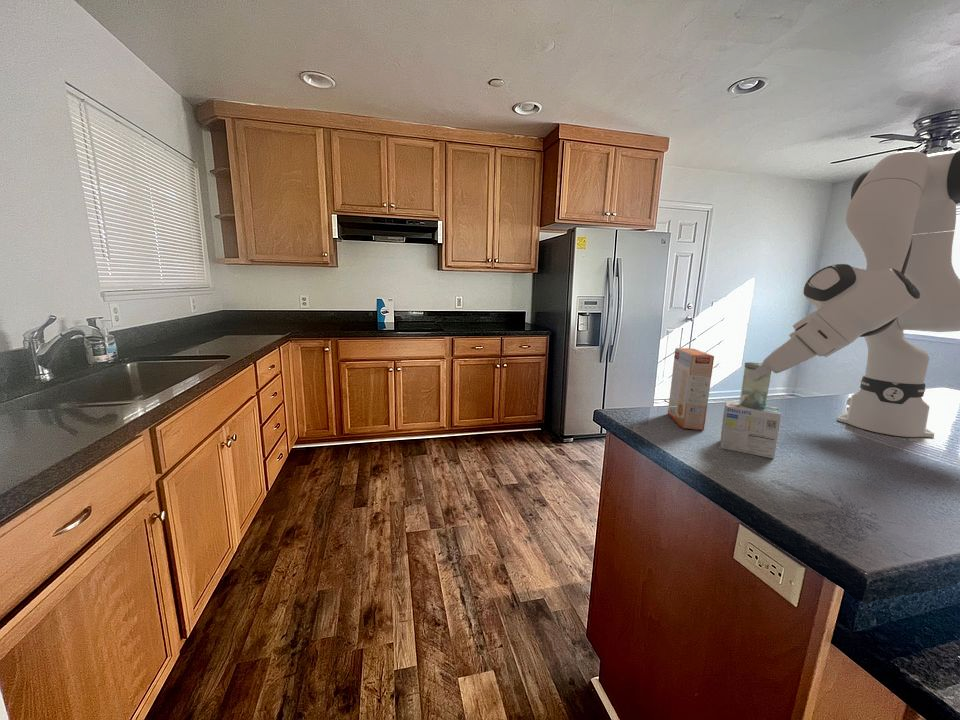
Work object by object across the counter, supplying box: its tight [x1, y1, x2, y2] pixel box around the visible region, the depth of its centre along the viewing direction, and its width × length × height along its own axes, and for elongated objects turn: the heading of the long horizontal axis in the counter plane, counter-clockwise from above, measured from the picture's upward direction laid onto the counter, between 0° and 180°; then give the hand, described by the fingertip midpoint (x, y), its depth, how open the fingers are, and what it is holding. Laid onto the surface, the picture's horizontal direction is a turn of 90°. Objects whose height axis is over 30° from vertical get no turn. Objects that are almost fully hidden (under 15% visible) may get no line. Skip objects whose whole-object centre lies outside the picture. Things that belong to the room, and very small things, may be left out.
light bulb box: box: [719, 400, 782, 459], centre depth 89 cm, size 11×7×11 cm, turn 57°
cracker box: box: [667, 347, 715, 431], centre depth 106 cm, size 14×6×21 cm, turn 168°
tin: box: [739, 361, 772, 409], centre depth 87 cm, size 5×5×10 cm
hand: (753, 374), depth 87 cm, fingers open, 8 cm apart
